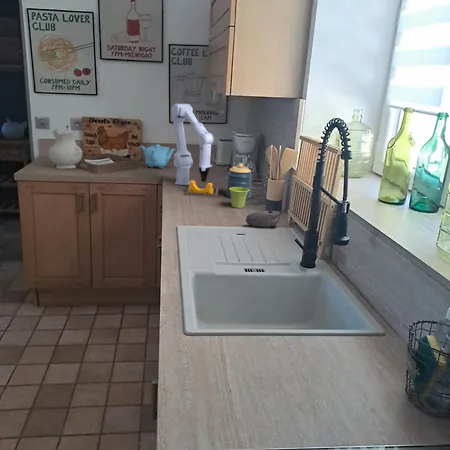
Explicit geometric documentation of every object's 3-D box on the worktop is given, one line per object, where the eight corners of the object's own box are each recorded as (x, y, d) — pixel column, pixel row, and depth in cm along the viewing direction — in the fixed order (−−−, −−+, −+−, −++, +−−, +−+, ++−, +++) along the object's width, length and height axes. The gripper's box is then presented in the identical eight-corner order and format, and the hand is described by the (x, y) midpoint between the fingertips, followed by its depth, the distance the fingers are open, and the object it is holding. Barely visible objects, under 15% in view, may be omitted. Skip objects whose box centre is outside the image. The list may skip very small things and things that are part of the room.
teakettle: (162, 163, 319) (162, 142, 314) (177, 168, 305) (177, 146, 300) (137, 165, 308) (137, 143, 303) (151, 170, 294) (151, 147, 289)
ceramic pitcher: (51, 165, 296) (46, 125, 287) (83, 163, 301) (79, 123, 293) (50, 172, 276) (44, 130, 268) (84, 169, 282) (79, 128, 273)
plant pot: (225, 204, 228) (226, 187, 226) (243, 203, 232) (244, 186, 229) (232, 209, 220) (233, 191, 217) (250, 208, 223) (252, 191, 221)
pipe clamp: (213, 194, 246) (213, 182, 244) (209, 196, 242) (210, 184, 240) (192, 191, 250) (193, 179, 248) (189, 193, 246) (189, 181, 244)
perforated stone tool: (245, 227, 195) (247, 212, 193) (244, 224, 200) (245, 208, 198) (281, 229, 196) (282, 213, 194) (278, 225, 201) (280, 209, 199)
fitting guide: (188, 188, 256) (188, 185, 255) (219, 190, 255) (219, 187, 255) (185, 194, 241) (185, 192, 240) (217, 197, 241) (218, 194, 240)
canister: (231, 200, 237) (233, 165, 231) (222, 193, 248) (224, 161, 243) (254, 199, 241) (257, 165, 236) (244, 193, 253) (247, 160, 248)
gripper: (211, 159, 240) (210, 185, 244) (213, 154, 254) (211, 179, 258) (198, 158, 240) (196, 184, 244) (200, 153, 254) (199, 178, 258)
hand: (203, 181), depth 251 cm, fingers closed
